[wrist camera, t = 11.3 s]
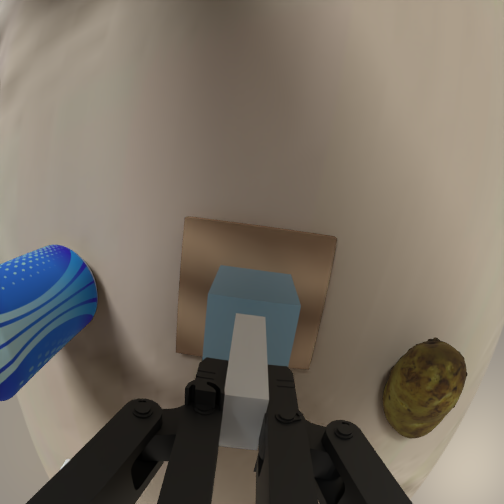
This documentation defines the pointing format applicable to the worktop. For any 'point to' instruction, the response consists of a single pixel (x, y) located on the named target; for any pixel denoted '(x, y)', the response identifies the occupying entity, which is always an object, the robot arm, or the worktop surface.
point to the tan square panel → (257, 258)
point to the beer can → (41, 310)
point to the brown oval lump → (423, 387)
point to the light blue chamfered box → (251, 311)
